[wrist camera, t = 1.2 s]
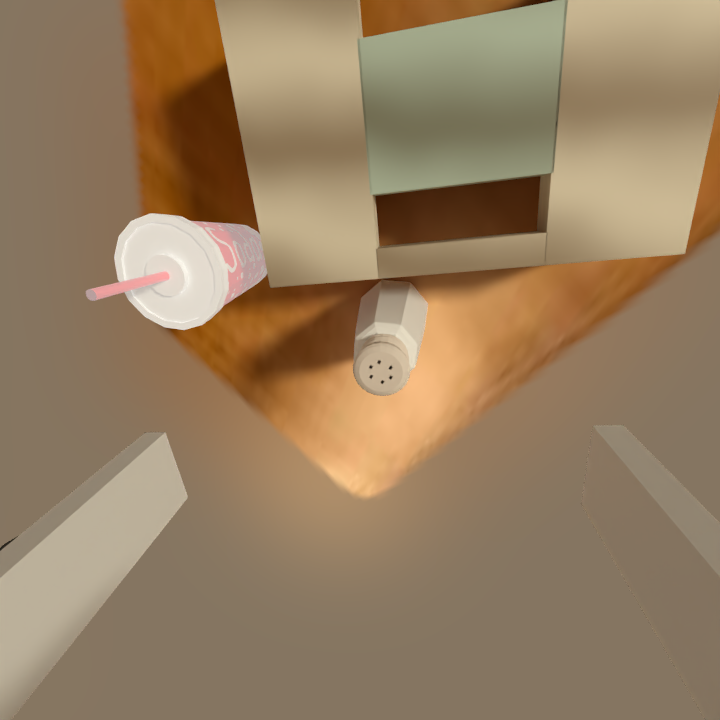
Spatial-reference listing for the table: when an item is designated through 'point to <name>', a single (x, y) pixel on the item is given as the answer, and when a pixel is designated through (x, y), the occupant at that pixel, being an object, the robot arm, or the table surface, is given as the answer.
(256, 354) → the table surface
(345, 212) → the cut-out shelf
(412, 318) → the pepper shaker
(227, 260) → the beverage cup
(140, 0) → the table surface
